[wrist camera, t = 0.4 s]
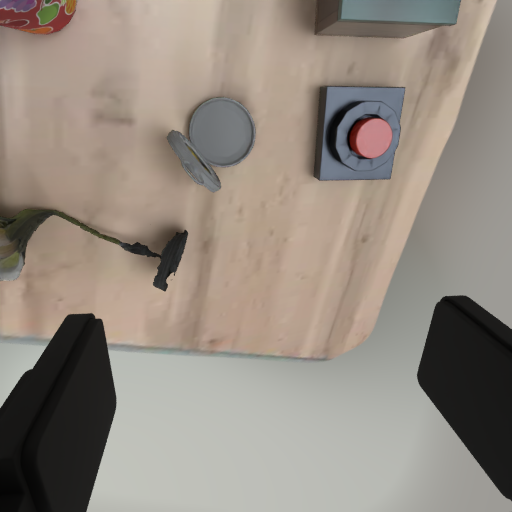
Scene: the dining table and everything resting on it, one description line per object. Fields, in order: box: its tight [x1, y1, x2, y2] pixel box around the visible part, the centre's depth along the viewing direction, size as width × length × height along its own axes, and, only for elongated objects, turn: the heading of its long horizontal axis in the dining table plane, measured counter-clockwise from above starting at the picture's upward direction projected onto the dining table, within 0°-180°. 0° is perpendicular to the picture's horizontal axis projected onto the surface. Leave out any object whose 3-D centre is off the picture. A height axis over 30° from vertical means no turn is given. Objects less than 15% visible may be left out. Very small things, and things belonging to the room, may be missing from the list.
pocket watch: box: [167, 97, 256, 192], centre depth 32 cm, size 8×8×10 cm
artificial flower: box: [0, 209, 188, 292], centre depth 35 cm, size 9×22×10 cm, turn 70°
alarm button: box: [349, 117, 392, 158], centre depth 34 cm, size 4×4×2 cm
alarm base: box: [314, 86, 405, 180], centre depth 36 cm, size 9×8×4 cm
